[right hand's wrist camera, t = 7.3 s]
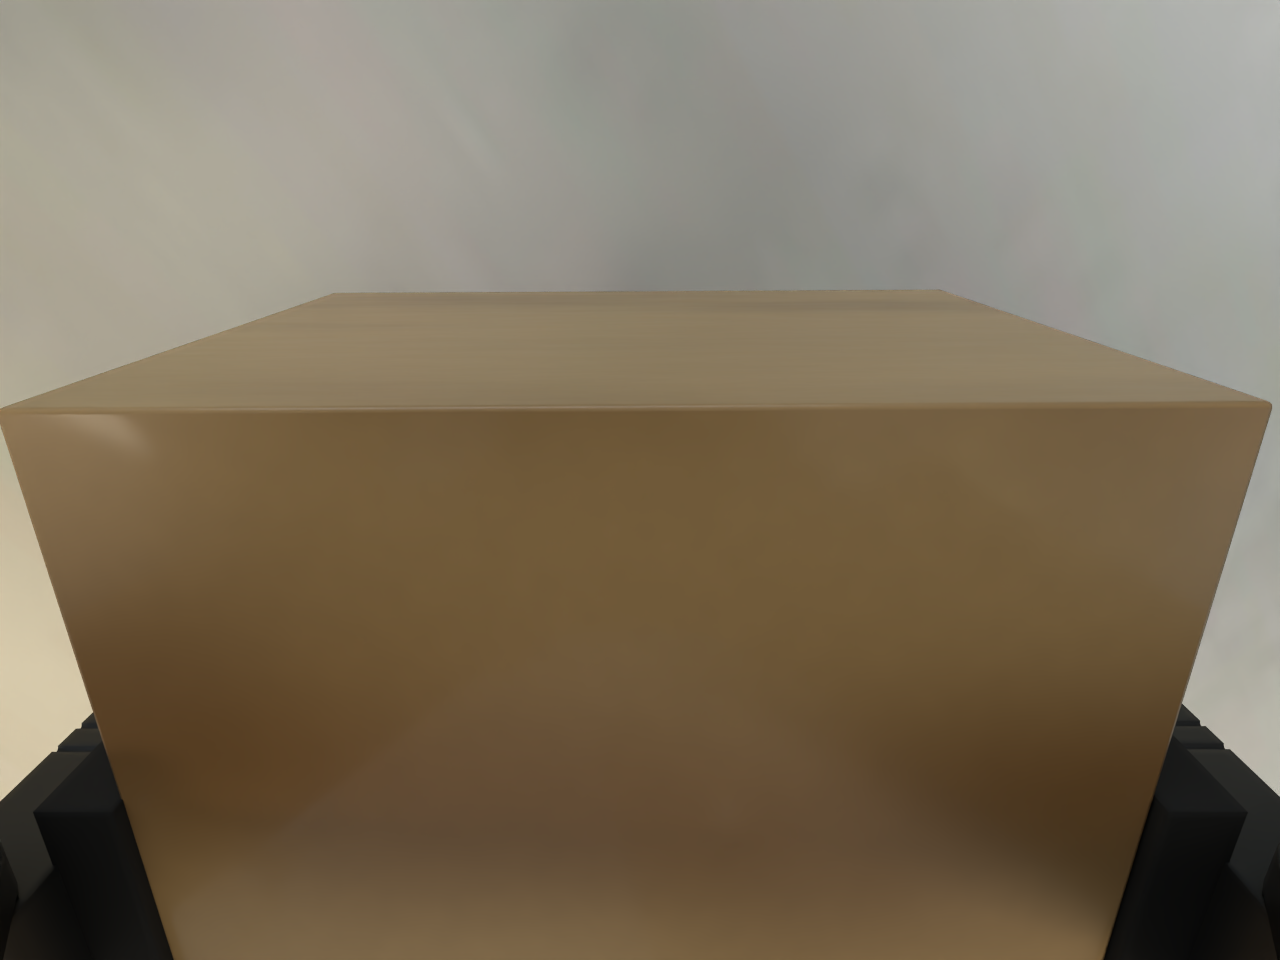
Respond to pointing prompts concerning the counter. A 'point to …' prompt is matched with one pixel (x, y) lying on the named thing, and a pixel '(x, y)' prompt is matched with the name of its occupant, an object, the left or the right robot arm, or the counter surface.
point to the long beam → (637, 621)
